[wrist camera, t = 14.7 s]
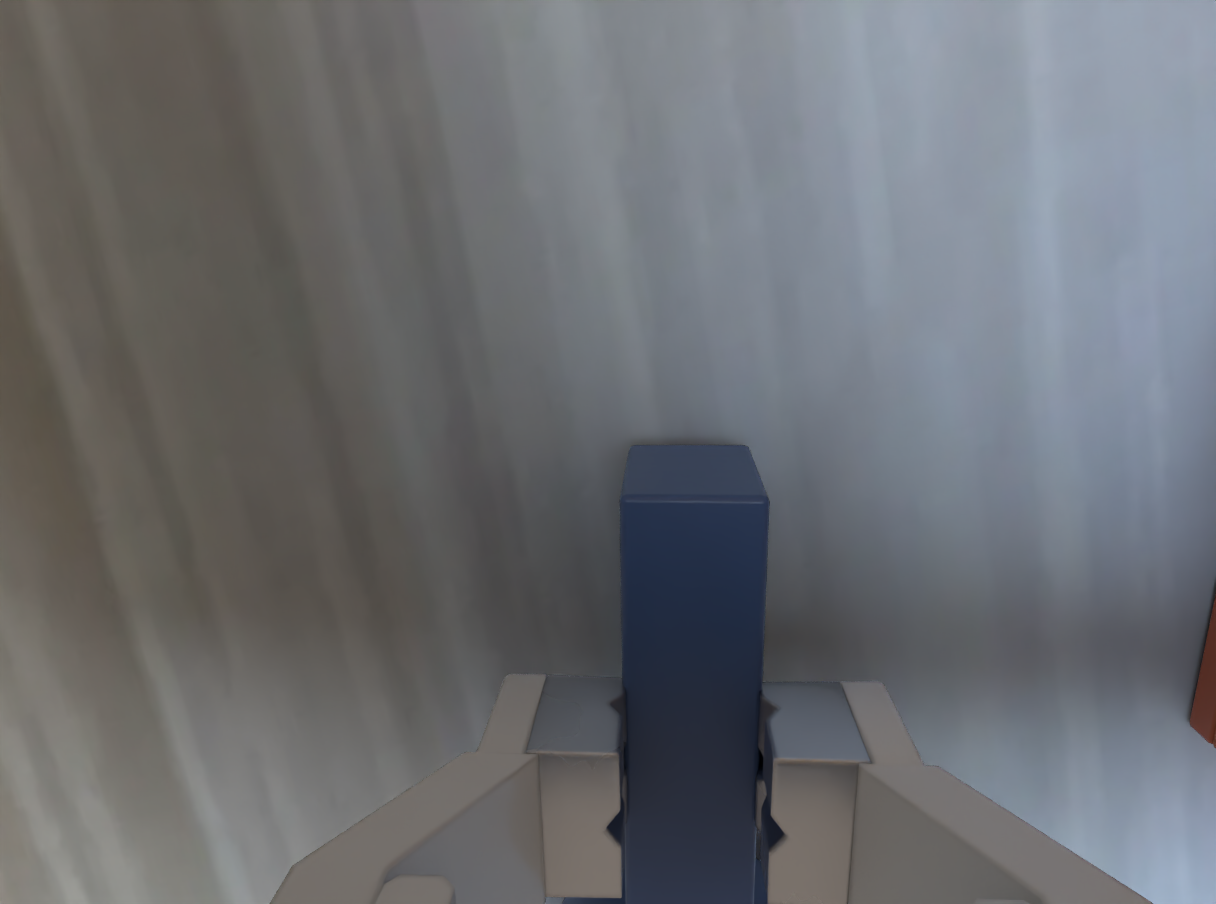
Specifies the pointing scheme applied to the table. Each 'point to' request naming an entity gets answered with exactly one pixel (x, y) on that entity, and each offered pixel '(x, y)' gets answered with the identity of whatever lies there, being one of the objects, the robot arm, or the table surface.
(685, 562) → the blue spoon
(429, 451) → the table surface
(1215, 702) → the red bin
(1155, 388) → the table surface
